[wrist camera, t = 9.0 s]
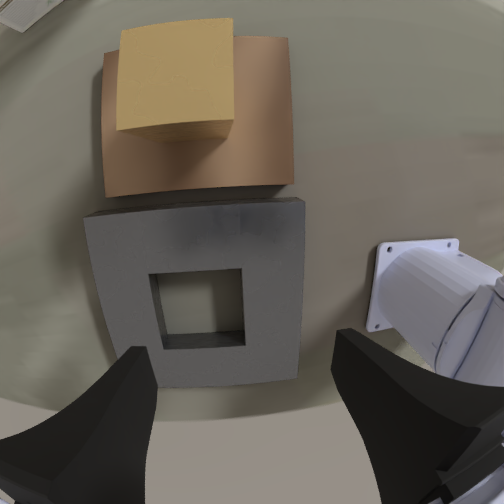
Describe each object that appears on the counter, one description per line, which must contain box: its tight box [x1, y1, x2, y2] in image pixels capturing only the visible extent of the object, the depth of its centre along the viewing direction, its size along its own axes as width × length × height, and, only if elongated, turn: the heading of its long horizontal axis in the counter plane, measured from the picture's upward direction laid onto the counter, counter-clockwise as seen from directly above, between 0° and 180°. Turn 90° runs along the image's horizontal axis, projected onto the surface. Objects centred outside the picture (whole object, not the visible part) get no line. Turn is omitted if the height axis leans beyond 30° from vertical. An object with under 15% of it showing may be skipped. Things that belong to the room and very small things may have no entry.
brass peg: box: [116, 18, 234, 143], centre depth 12 cm, size 4×4×8 cm
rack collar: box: [83, 197, 305, 388], centre depth 20 cm, size 14×14×2 cm
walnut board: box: [101, 36, 294, 198], centre depth 16 cm, size 12×10×1 cm
